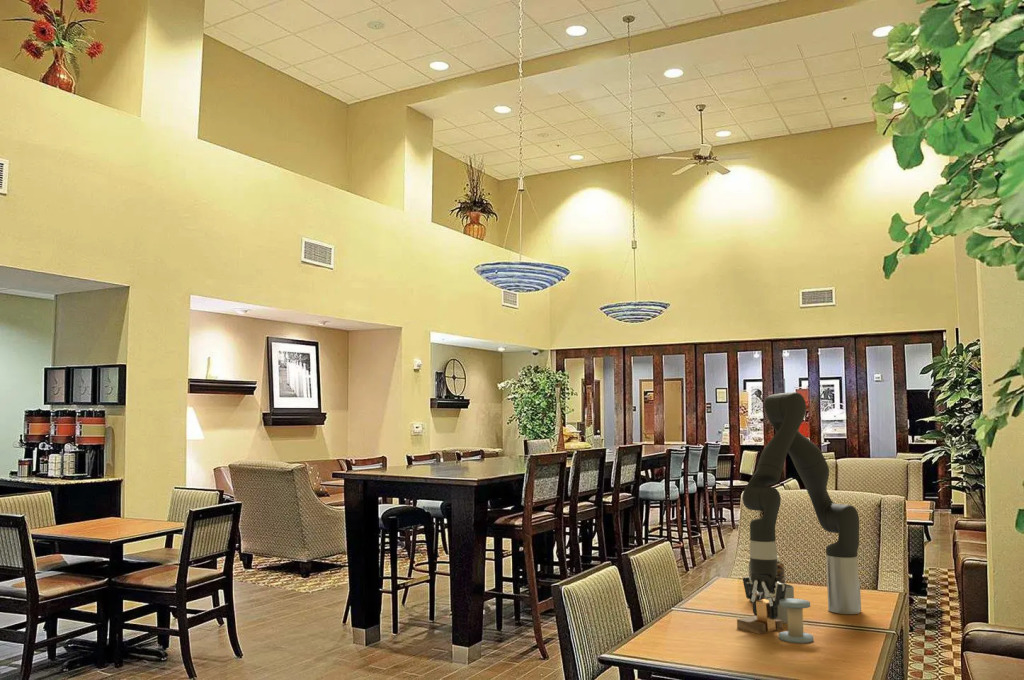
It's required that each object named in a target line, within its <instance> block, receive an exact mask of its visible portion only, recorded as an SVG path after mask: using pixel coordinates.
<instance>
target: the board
mask: <svg viewBox="0 0 1024 680" xmlns="http://www.w3.org/2000/svg"><path fill="white" fill-rule="evenodd" d="M736 625H737V626H736V628H737V629H739V630H741V631H742V630H743V631H746V632H750V633H755V634H758V635H761V634H762V635H763V634H767V632H766V631H765V624H764V623H760V622H757V616H755V615H753V616H748V617H743V618H737V619H736ZM783 625H784V623H783V622H782V620H779V619H775V626H776V630H775V631H781V629H782V630H784V626H783Z"/></svg>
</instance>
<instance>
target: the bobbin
mask: <svg viewBox="0 0 1024 680" xmlns="http://www.w3.org/2000/svg"><path fill="white" fill-rule="evenodd" d="M779 604H780V605H781V606H784V607H787V617H788V623H787V630H786V631H785V630H784V631H781V632H778V639H779V640H780V641H783V642H787V643H792V644H811V643H813V642H814V635H813V634H811V633H807V632H804V614H803V613H804V611H803V609H808V608H811V601H809V600H806V599H801V598H795V597H794V598H786V599H780V600H779Z"/></svg>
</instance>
